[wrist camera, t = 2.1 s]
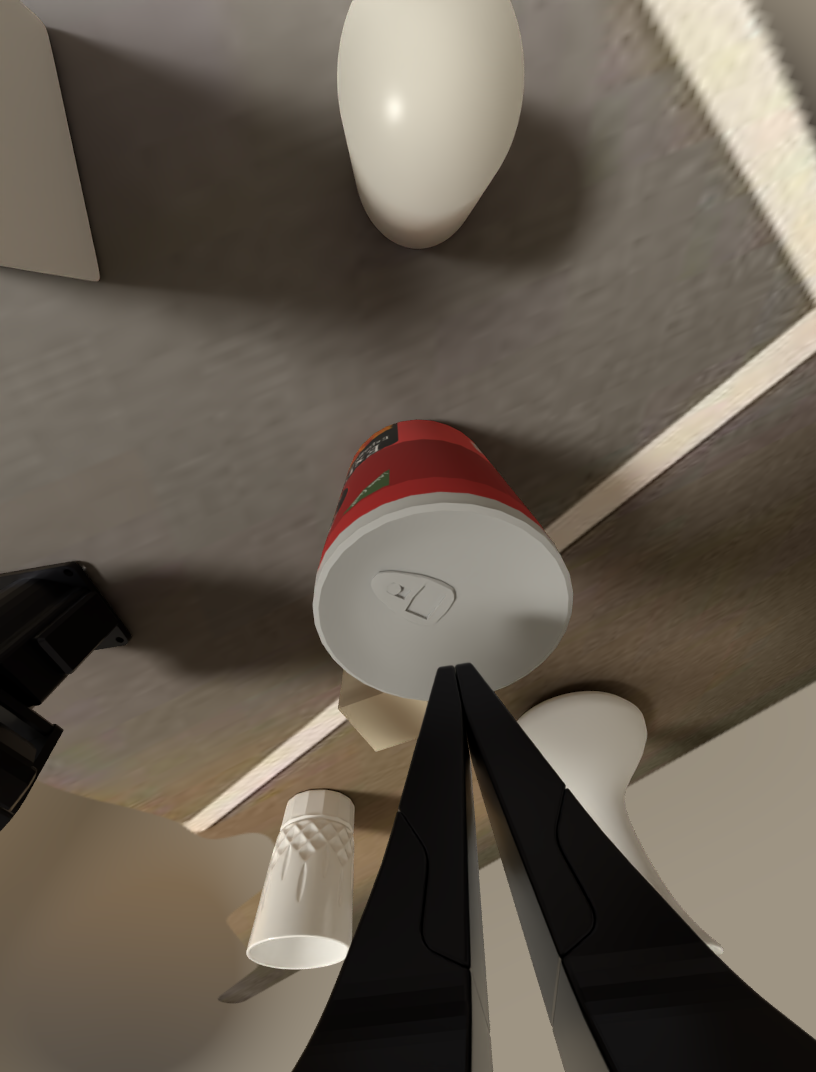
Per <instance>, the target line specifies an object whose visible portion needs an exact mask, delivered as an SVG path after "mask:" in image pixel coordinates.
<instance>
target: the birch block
mask: <svg viewBox="0 0 816 1072" xmlns="http://www.w3.org/2000/svg"><path fill="white" fill-rule="evenodd" d="M427 704H428V701H421V700H414V699H407V698H402V697H398V696H395V695H391V694H388V693H384V692H381V691H379V690H377V689H375V688H373V687H370V686H368V685H366V684H364V683H362V682H361V681H359V680H358V679H356V678H355V677H353V676H352V675H350V674H349V673H347V672H346V671H345V670H344V669H343V676H342V683H341V691H340V698H339V705H338V709H339V711H340V712H341V713H342V714H343V715H344V716H345V717H346V718H347V720H348V721H349V722H350V723H351V724H352V725H353V726H354V727H355V729H356V730H357V731H358V732H359V733H360V734H361V735H362V736H363V738H364V739H365V740H366V741H367V742H368V743H369V744H370V745H371V747H372V748H373V749H374V750H375V751H379V750H382V749H385V748H388V747H392V746H395V745H398V744H401V743H404V742H407V741H410V740H413V739H417V738H418V736H419V732H420V729H421V725H422V721H423V718H424V714H425V711H426V707H427Z"/></svg>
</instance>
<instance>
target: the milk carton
mask: <svg viewBox="0 0 816 1072" xmlns="http://www.w3.org/2000/svg"><path fill="white" fill-rule="evenodd" d="M0 266H4V267H10V268H16V269H22V270H28V271H34V272H40V273H46V274H52V275H58V276H64V277H70V278H76V279H82V280H88V281H98V280H99V279H100V275H99V269H98V263H97V259H96V254H95V249H94V244H93V240H92V235H91V230H90V226H89V221H88V216H87V212H86V207H85V202H84V198H83V193H82V188H81V184H80V179H79V174H78V170H77V165H76V160H75V156H74V151H73V146H72V142H71V137H70V132H69V128H68V123H67V118H66V114H65V109H64V104H63V100H62V95H61V90H60V86H59V81H58V76H57V72H56V67H55V62H54V58H53V53H52V49H51V44H50V40H49V36H48V33H47V30H46V27H45V26H44V24H43V23H42V21H41V20H40V19H39V18H38V17H37V16H36V15H35V14H34V13H33V12H32V11H31V10H30V9H28V8H27V7H26V6H25V5H24V4H23V3H22V2H21V1H20V0H0Z"/></svg>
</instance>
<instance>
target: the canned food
mask: <svg viewBox="0 0 816 1072" xmlns="http://www.w3.org/2000/svg"><path fill="white" fill-rule="evenodd" d="M572 603H573V590H572V584H571V579H570V574H569V572H568V570H567V568H566V566H565V563H564V561H563V559H562V557H561V555H560V554H559V552H558V550H557V548H556V546H555V544H554V542H553V541H552V540H551V539H550V537H549V536H548V535H547V534H546V532H545V531H544V529H543V528H542V526H541V525H540V524H539V522H538V521H537V520H536V519H535V517H534V516H533V515H532V514H531V512H530V511H529V510H528V509H527V508H526V506H525V505H524V504H523V503H522V501H521V500H520V499H519V498H518V496H517V495H516V494H515V493H514V491H513V490H512V489H511V488H510V487H509V485H508V484H507V483H506V482H505V480H504V479H503V478H502V477H501V475H500V474H499V473H498V472H497V470H496V469H495V468H494V467H493V466H492V464H491V463H490V462H489V461H488V459H487V458H486V457H485V456H484V454H483V453H482V452H481V451H480V450H479V448H478V447H477V446H476V445H475V444H474V442H473V441H472V440H471V439H469V438H468V437H467V436H466V435H464V434H463V433H462V432H460V431H458V430H456V429H454V428H452V427H450V426H448V425H446V424H442V423H439V422H435V421H429V420H410V421H402V422H399V423H396V424H393V425H390V426H387V427H385V428H383V429H382V430H380V431H378V432H377V433H375V434H373V435H372V436H371V437H370V438H369V439H368V440H367V441H366V442H365V443H364V444H363V445H362V446H361V447H360V449H359V450H358V452H357V453H356V455H355V456H354V459H353V461H352V463H351V466H350V468H349V471H348V474H347V477H346V481H345V484H344V487H343V490H342V493H341V496H340V499H339V502H338V505H337V509H336V512H335V515H334V518H333V521H332V524H331V527H330V530H329V533H328V537H327V540H326V543H325V546H324V549H323V552H322V557H321V561H320V564H319V567H318V571H317V575H316V582H315V589H314V599H313V613H314V621H315V626H316V629H317V631H318V634H319V637H320V639H321V642H322V644H323V645H324V647H325V648H326V650H327V651H328V652H329V654H330V655H331V657H332V658H333V659H334V660H335V661H336V662H337V663H338V664H339V665H340V666H341V667H342V668H343V669H344V670H345V671H346V672H347V673H349V674H350V675H352V676H353V677H355V678H356V679H358V680H359V681H361V682H362V683H364V684H366V685H368V686H370V687H373V688H375V689H377V690H379V691H381V692H384V693H388V694H391V695H395V696H398V697H402V698H407V699H414V700H421V701H428V700H429V696H430V693H431V689H432V686H433V682H434V679H435V675H436V671H437V669H438V668H439V667H441V666H448V665H453V666H454V668H455V665H456V664H461V663H467V662H470V663H472V664H473V665H474V667H475V668H476V669H477V671H478V672H479V673H480V674H481V676H482V677H483V678H484V680H485V681H486V682H487V684H488V685H489V686H490V687H491V689H492V690H493V691H496V690H499V689H501V688H504V687H507V686H509V685H511V684H512V683H514V682H516V681H518V680H519V679H521V678H523V677H525V676H527V675H528V674H529V673H530V672H532V671H533V670H534V669H535V668H537V667H538V666H539V665H540V664H542V663H543V662H544V661H545V660H546V658H547V657H548V656H549V655H550V654H551V653H552V652H553V651H554V649H555V648H556V647H557V645H558V643H559V642H560V640H561V638H562V637H563V635H564V633H565V632H566V629H567V626H568V623H569V620H570V617H571V614H572ZM455 672H456V671H455Z"/></svg>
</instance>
